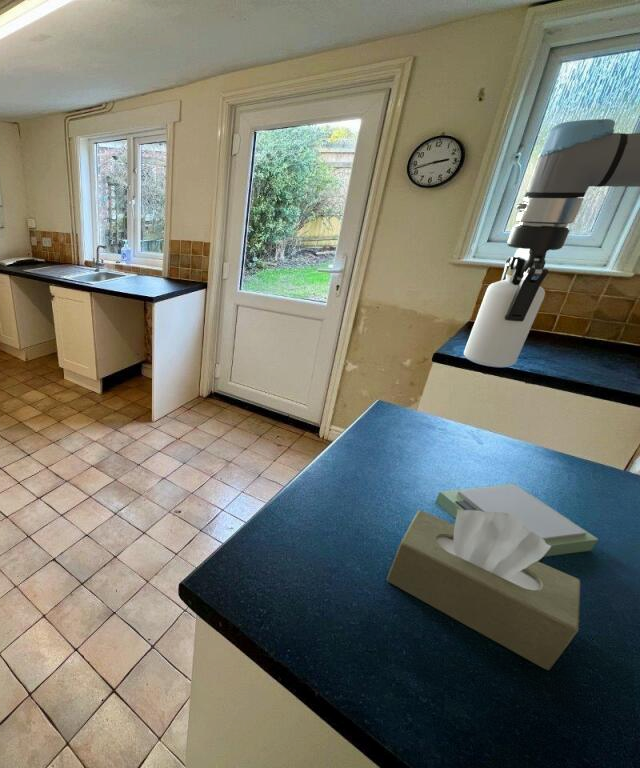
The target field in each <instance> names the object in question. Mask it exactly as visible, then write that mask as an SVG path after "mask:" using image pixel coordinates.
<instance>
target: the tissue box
mask: <svg viewBox="0 0 640 768" xmlns="http://www.w3.org/2000/svg"><path fill="white" fill-rule="evenodd" d="M456 509H457V508H456ZM550 547H551V546H550V545H548V544H546V543H545V540H544V539H543V538H541V537H540V536H539V535H537V534H536V533H534V532H532V531H531V530H529V529H528V528H526V527H525V526H523V524H522V522H521V520H520V519H518V518H517V517H516V516H513V515H511V514H508V513H504V512H483V511H477V510H461V509H457V516H456V519H455V522H454V524H453V523H451V522H449V521H447V520H444V519H442V518H440V517H437V516H435V515H433V514H430V513H428V512H426V511H423V510H421V509H418V510H417V511H416V513H415V515H414V517H413V519H412V521H411V522H410V524H409V526H408V527H407V530H406V532H405V534H404V535H403V537H402V539H401V541H400V543H399V544H398V547H397V549H396V552H395V554H394V557H393V560H392V563H391V566H390V568H389V571H388V574H387V576H386V581H387V582H388V583H389V584H392V585H393V586H395V587H397V588H399V589H401V590H402V591H404V592H406V593H407V594H410V595H411V596H413V597H415V598H416V599H418V600H420V601H422V602H424V603H425V604H427V605H429V606H431V607H433V608H434V609H436V610H438V611H439V612H442V613H443V614H445V615H446V616H449V617H451V618H452V619H454V620H456V621H458V622H459V623H462V624H463V625H465V626H466V627H469V628H470V629H472V630H474V631H475V632H477V633H479V634H481V635H483V636H484V637H486V638H488V639H490V640H492V641H493V642H495V643H497V644H499V645H501V646H503V647H504V648H506V649H508V650H509V651H511V652H513V653H515V654H517V655H518V656H520V657H522V658H524V659H526V660H528V661H530V662H531V663H533V664H535V665H537V666H539V667H540V668H542V669H544V670H545V669H546V671H550V670H551V669H552V667H553V666H554V665H555V663H556V662H557V660H558V659H559V658H560V657H561V655H562V654H563V653H564V652H565V650H566V648H567V647H568V646H569V645H570V644H571V642H572V641H573V639H574V638H575V636H576V635H577V633H578V632H579V628H580V627H579V625H580V624H579V623H580V606H581V605H580V603H581V602H580V601H581V583H582V581H581V580H580V579H579V578H577V577H575V576H573V575H570V574H568V573H566V572H563V571H562V570H559V569H556V568H554V567H552V566H550V565H547V564H545V563H543V562H541V561H540V560H541V559H542V558H544V557H543V556H544V555H545V554H546V553H547V551H548V550H549V549H550Z"/></svg>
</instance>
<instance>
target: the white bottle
mask: <svg viewBox="0 0 640 768" xmlns="http://www.w3.org/2000/svg"><path fill="white" fill-rule="evenodd" d="M513 270H514V269H509V273H508V274H506V279H505V280H502V281H501V280H498V281H494V282H492V283H490V284H489V285H488V287H487V288H486V290H485V294H484V296H483V299H482V301H481V304H480V307H479V309H478V313H477V315H476V318H475V321H474V324H473V326H472V328H471V331H470V334H469V337H468V340H467V342H466V345H465V347H464V351H463V355H464V357H465V358H466V359H467V360H468V361H470V362H472V363H475V364H478V365H482V366H486V367H492V368H507V367H511V366H513V365H515V364H516V363H517V361H518V359H519V356H520V354H521V351H522V349H523V347H524V345H525V342H526V340H527V338H528V335H529V333H530V331H531V328H532V326H533V324H534V322H535V319H536V317H537V315H538V312H539V310H540V308H541V306H542V304H543V301H544V298H545V296H546V291H545V289H544V288H543V287H542V286H541V285H540V287H539V289H538V291H537V293H536V295H535V297H534V299H533V301H532V303H531V306H530V308H529V310H528V312H527V314H526V316H525V319H524V320H523V321H522V322H521V321H508V320H505V315H506V314H507V312H508V309H509V307H510V304H511V302H512V300H513V298H514V295H515V293H516V291H517V289H518V286H519V285H514V284H512V283H511V282H510V279H511V278H512V274H513V272H514V271H513ZM517 280H522V278H519V277H517Z"/></svg>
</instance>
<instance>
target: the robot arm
mask: <svg viewBox="0 0 640 768" xmlns="http://www.w3.org/2000/svg"><path fill="white" fill-rule="evenodd" d="M615 126H616V121H615V120H613V119H611V118H602V119H601V118H600V119H595V118H594V119H582V120H581V119H579V120H571V121H565V122H561V123H559V124H556V125H555V126H554V127H552V128H551V129H550V130H549V131H548V134H547V136H546V139H545V141H544V143H543V145H542V149H541V150H540V153H539V154H538V156H537V159H536V162H535V166H534V168H533V171H532V174H531V177H530V179H529V182H528V185H527V187H526V191H525V193H524V197H523V199H522V203H518V204H517V205H516V209H517V210H519V211H518V213H517V216H516V219H515V221H516V222H518V224H515V225H513V226H512V228H511V231H510V233H509V235H508V239H507V241H506V245H507V247H510V248H515V249H516V251H515V253H514V255H513V256H512V257H507V258H506V259H505V264H504V269H503V271H502V275H501V278H500V281H502V280H505V279H506V274H508V273H509V269H514V270H513V271H514V272H513V274H512V278H511V279H510V282H511V283H512V284H514V285H519V286H518V289H517V291H516V293H515V295H514V298H513V300H512V302H511V304H510V307H509V309H508V312H507V314H506V315H505V320H508V321H521V322H522V321H523V320H524V319H525V316H526V314H527V312H528V310H529V308H530V306H531V303H532V301H533V299H534V297H535V295H536V293H537V291H538V289H539V287H540V286H541V285H542V282H543V281H544V280H545V278H546V277H547V275H548V274H549V268H545V265H546V257H547V256H546V255H547V253H548V251H550V250H551V251H557V250H561V249H562V248H563V247H564V245H565V242H566V240H567V238H568V237H569V234H570V231H571V229H570V227H569V226H568V225H569V224H573V223H574V222H575V220H576V218H577V215H578V213H579V212H580V209H581V206H582V204H583V203H584V202H583V201H584V199H585V195H586V193H587V191H588V189H589V188H590V187H595V188H599V187H600V188H601V187H613V188H617V187H623V188H624V187H628V188H629V187H631V188H632V187H633V188H634V187H635V188H636V187H637V188H638V187H639V188H640V132H634V133H625V132H623V133H622V132H621V133H620V132H615V129H614V128H615ZM517 277H519V278H522V280H517Z"/></svg>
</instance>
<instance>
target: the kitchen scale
mask: <svg viewBox="0 0 640 768" xmlns="http://www.w3.org/2000/svg"><path fill="white" fill-rule="evenodd" d="M434 501H435V503H436V504H437V505H439V506H440V507H441V508H442V509H443V510H444V511H445V512H447V513H448V514H449V515H450V516H451V517H452V518H454V519H455V520H456V516H457V509H461V510H477V511H483V512H504V513H508V514H511V515H513V516H516V517H517V518H518V519H520V520H521V522H522V524H523V526H525V527H526V528H528V529H529V530H531V531H532V532H534V533H536V534H537V535H539V536H540V537H541V538H543V539H544V540H545V543H546V544H548V545H550V546H551V547H550V549H549V550H548V551H547V553H546V554H545V555H544V556H543V557H542V558H546V557H553V556H559V555H568V554H574V553H583V552H590V551H592V550H593V548H594V547H595V545H596V544H597V542H598V541H599V539H598V538H597V536H594V535H593V534H591V533H590V532H588V531H587V530H585V529H584V528H583V527H581V526H580V525H578V524H576V523H575V522H573V521H572V520H570V519H569V518H567V517H566V516H564V515H562V514H561V513H560V512H558V511H557V510H556V509H554V508H552V507H551V506H549V505H548V504H546V503H545V502H543V501H542V500H540V499H539V498H537V497H536V496H534V495H533V494H532V493H530V492H528V491H527V490H525V489H524V488H522V487H521V486H519V485H517V484H516V483H507V484H498V485H497V484H496V485H488V486H487V485H486V486H479V487H478V486H477V487H470V488H469V487H468V488H460V489H451V490H442V491H439V492H438V493H437V497H436V499H435V500H434ZM456 508H457V509H456Z"/></svg>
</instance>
